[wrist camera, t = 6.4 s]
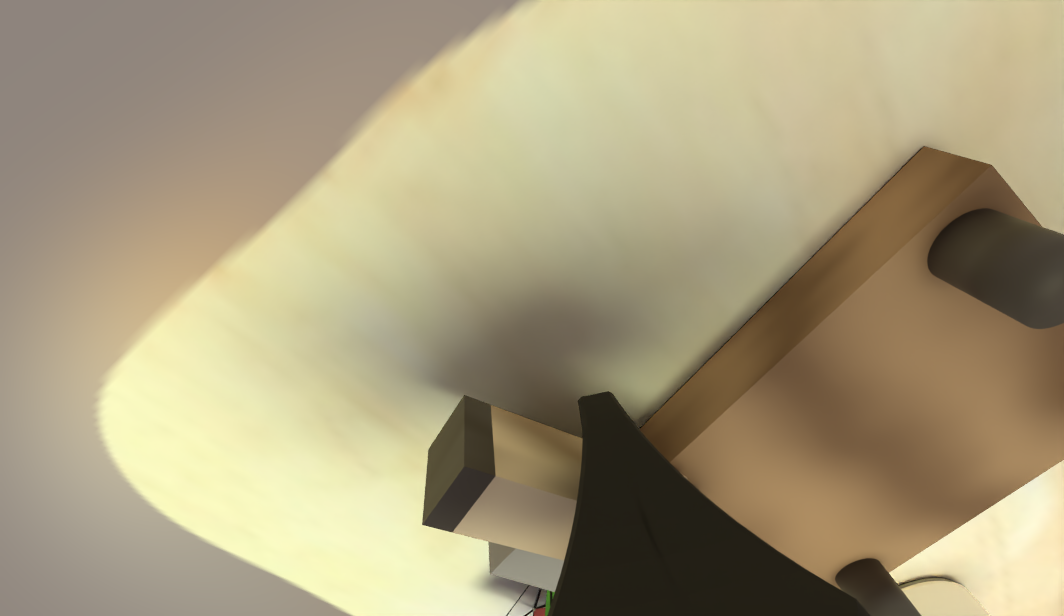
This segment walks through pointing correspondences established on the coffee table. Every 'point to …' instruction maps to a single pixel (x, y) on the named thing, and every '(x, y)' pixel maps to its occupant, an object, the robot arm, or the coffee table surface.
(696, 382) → the stool seat
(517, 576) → the block
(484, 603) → the coffee table surface
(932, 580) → the can
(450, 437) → the hinged leg
